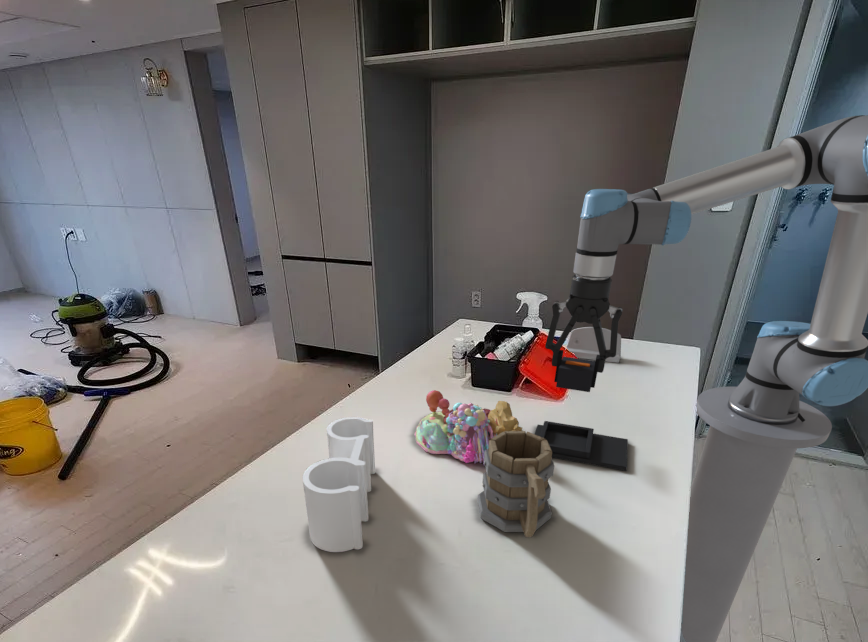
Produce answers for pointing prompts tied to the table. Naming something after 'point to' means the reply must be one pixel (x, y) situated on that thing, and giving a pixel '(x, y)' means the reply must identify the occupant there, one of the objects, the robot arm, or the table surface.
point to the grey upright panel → (591, 344)
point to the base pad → (584, 445)
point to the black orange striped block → (575, 374)
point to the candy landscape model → (462, 428)
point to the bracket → (341, 486)
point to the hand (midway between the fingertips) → (574, 382)
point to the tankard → (516, 482)
